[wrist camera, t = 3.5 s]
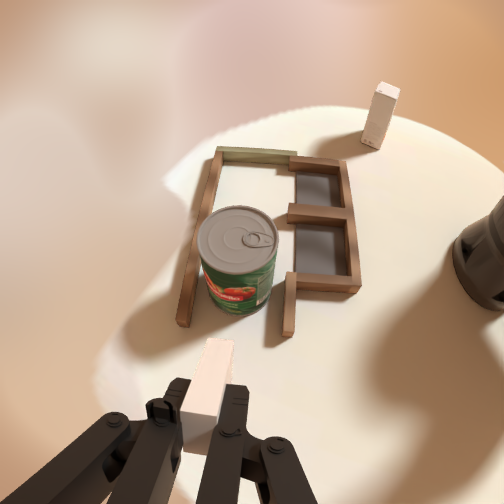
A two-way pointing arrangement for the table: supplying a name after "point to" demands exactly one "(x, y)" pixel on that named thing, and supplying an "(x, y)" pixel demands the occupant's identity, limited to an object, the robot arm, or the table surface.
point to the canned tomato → (238, 258)
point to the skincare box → (380, 114)
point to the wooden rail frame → (307, 228)
